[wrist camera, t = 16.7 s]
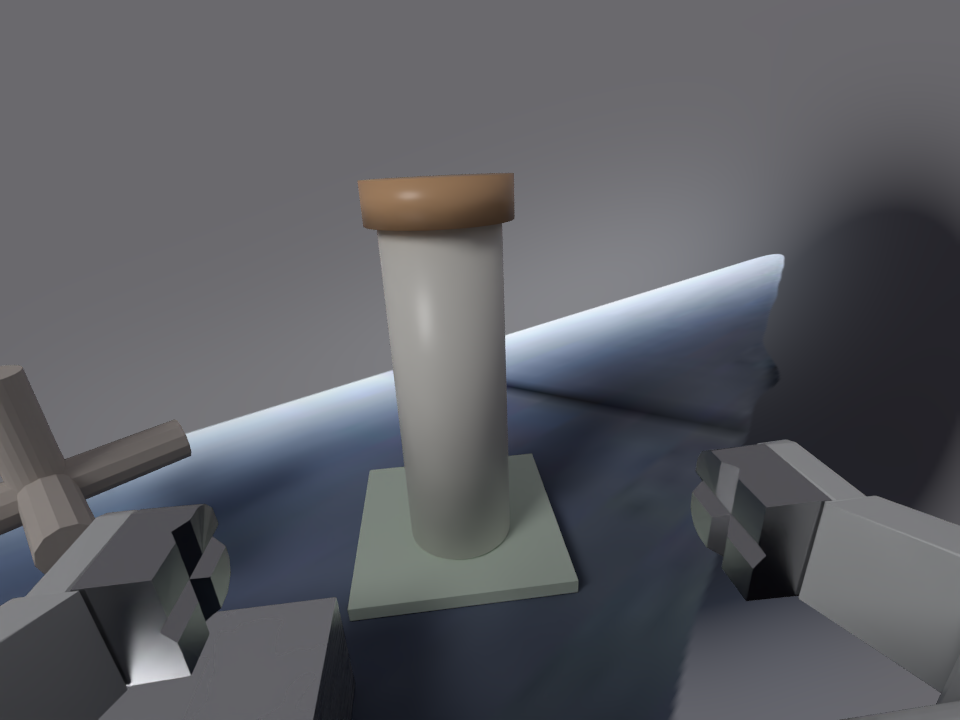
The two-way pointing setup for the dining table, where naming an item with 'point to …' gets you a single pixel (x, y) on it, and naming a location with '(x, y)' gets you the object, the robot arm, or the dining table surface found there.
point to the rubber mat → (456, 583)
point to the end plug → (448, 350)
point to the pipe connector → (64, 470)
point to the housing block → (257, 670)
